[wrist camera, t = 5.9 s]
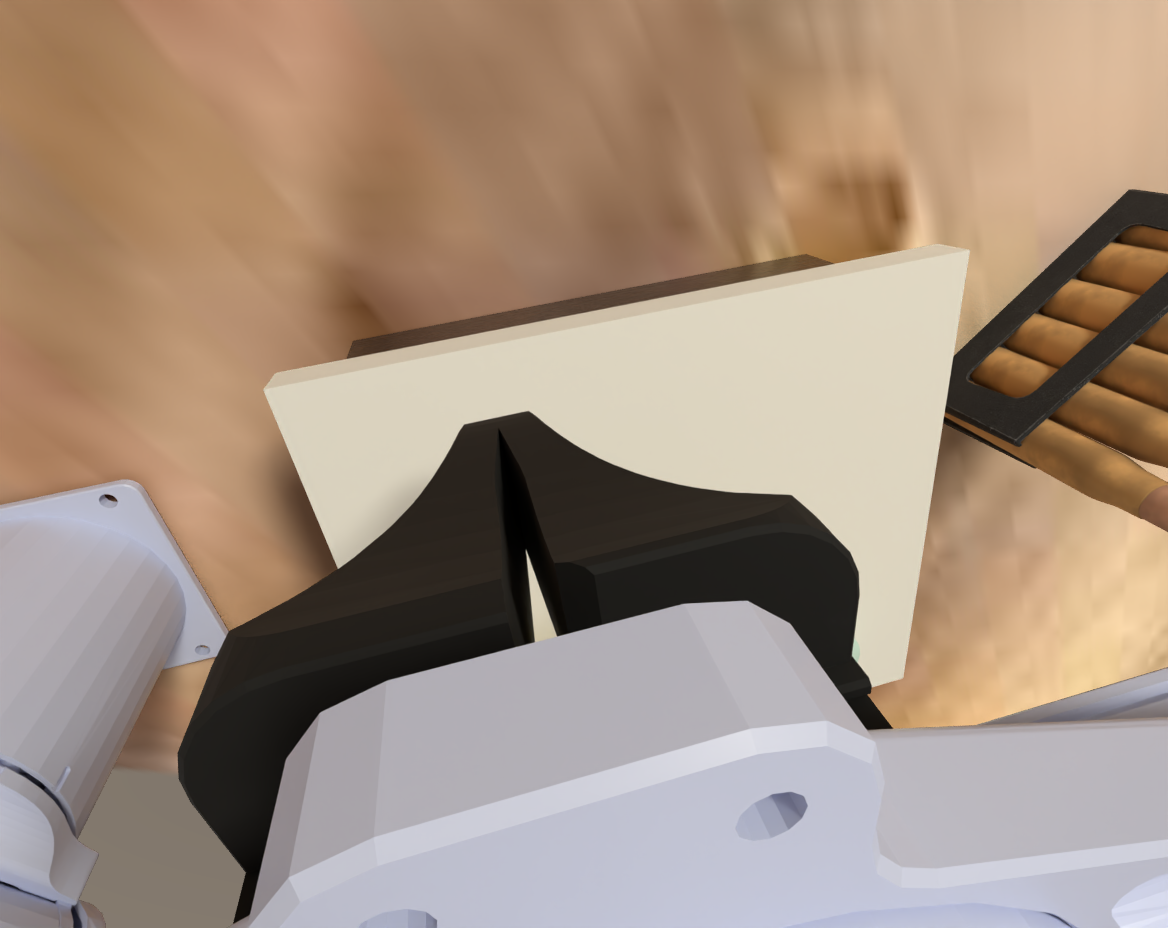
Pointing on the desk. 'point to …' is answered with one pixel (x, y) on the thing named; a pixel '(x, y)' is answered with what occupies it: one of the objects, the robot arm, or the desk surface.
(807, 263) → the leveling base
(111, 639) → the robot arm
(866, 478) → the plate
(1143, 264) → the ammunition clip
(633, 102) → the desk surface
